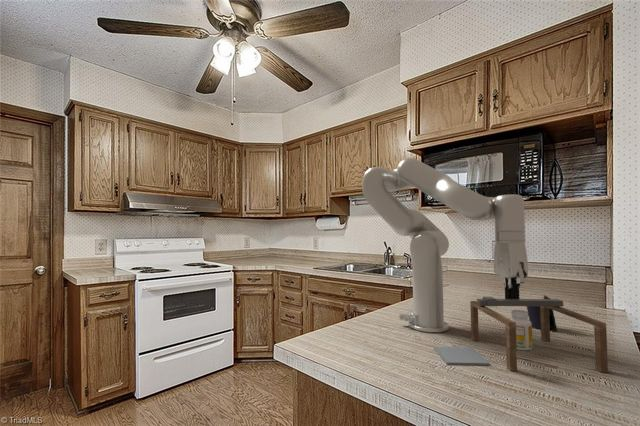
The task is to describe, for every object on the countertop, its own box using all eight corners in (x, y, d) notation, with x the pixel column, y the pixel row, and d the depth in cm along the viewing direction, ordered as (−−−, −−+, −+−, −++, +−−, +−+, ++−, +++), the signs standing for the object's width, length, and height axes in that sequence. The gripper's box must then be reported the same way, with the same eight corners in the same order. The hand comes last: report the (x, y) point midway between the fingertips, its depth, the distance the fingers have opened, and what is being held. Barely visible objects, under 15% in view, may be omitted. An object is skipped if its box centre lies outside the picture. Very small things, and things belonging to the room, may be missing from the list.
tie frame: (510, 371, 73) (509, 322, 74) (471, 338, 94) (470, 301, 95) (608, 372, 72) (606, 323, 73) (546, 339, 93) (545, 301, 94)
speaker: (558, 327, 104) (553, 294, 105) (557, 332, 100) (552, 298, 100) (530, 324, 109) (526, 294, 109) (528, 330, 104) (523, 298, 105)
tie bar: (480, 306, 87) (480, 298, 87) (476, 303, 90) (476, 296, 90) (564, 306, 86) (564, 299, 86) (557, 304, 89) (556, 297, 89)
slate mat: (446, 364, 77) (446, 362, 77) (434, 348, 87) (434, 346, 87) (489, 365, 76) (489, 363, 76) (471, 349, 86) (471, 347, 86)
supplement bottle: (523, 343, 90) (522, 308, 91) (537, 350, 85) (536, 313, 86) (505, 343, 90) (503, 308, 91) (517, 351, 85) (516, 314, 85)
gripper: (484, 236, 100) (486, 295, 100) (511, 238, 85) (513, 308, 85) (508, 236, 100) (511, 295, 99) (539, 238, 85) (542, 307, 84)
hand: (512, 301), depth 92 cm, fingers closed
